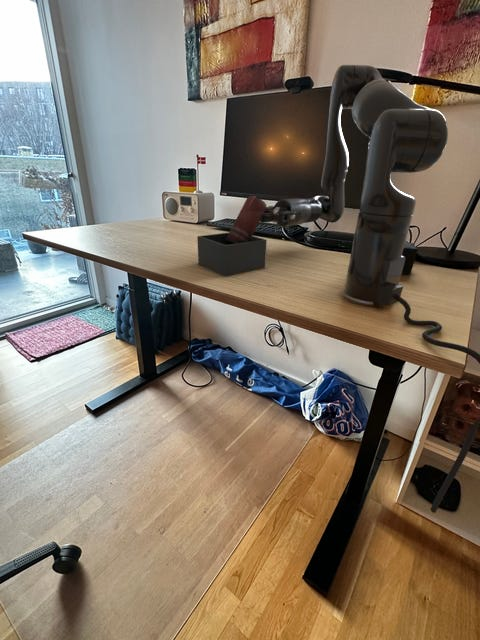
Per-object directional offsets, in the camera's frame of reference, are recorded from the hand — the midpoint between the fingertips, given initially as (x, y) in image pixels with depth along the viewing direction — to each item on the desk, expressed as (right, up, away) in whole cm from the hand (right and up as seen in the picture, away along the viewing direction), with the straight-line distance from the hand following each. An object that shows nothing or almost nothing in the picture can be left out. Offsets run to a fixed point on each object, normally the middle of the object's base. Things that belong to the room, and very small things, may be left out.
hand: (250, 216), depth 80 cm
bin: (-5, -13, +2) cm, 14 cm away
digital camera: (+42, -14, +4) cm, 44 cm away
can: (-4, -7, +4) cm, 9 cm away
